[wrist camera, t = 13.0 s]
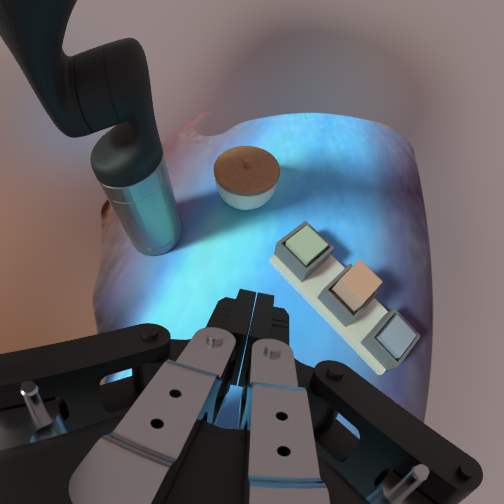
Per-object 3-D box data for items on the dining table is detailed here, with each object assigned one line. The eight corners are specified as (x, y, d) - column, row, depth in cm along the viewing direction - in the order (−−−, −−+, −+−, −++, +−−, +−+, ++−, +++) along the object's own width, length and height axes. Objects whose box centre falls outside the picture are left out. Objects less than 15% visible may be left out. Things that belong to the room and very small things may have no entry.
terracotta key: (332, 289, 40) (339, 279, 37) (351, 270, 41) (359, 259, 38) (354, 311, 38) (363, 303, 35) (372, 291, 40) (382, 281, 37)
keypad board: (268, 261, 47) (272, 246, 43) (303, 234, 50) (309, 217, 46) (378, 375, 39) (393, 371, 35) (407, 339, 42) (423, 331, 37)
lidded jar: (255, 168, 57) (258, 131, 49) (286, 205, 53) (294, 169, 44) (206, 188, 54) (201, 151, 46) (234, 230, 50) (233, 195, 42)
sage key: (283, 252, 46) (286, 240, 42) (302, 236, 47) (307, 224, 44) (303, 272, 44) (307, 262, 41) (322, 255, 46) (328, 244, 43)
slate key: (369, 341, 39) (379, 335, 36) (386, 321, 41) (397, 314, 38) (388, 361, 38) (400, 357, 35) (404, 340, 39) (416, 335, 36)
